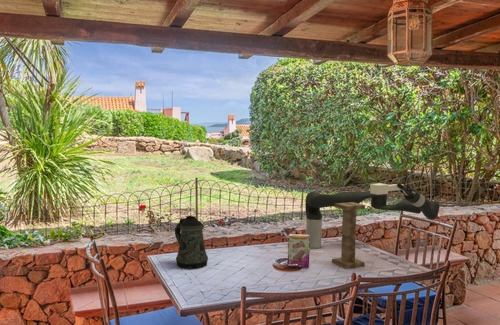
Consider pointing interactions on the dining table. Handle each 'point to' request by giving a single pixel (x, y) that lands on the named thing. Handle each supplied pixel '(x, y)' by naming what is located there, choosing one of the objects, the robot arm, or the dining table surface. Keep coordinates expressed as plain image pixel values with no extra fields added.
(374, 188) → the handle block
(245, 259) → the dining table surface
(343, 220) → the stand
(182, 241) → the beer stein
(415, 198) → the robot arm
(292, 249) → the candy bar box
